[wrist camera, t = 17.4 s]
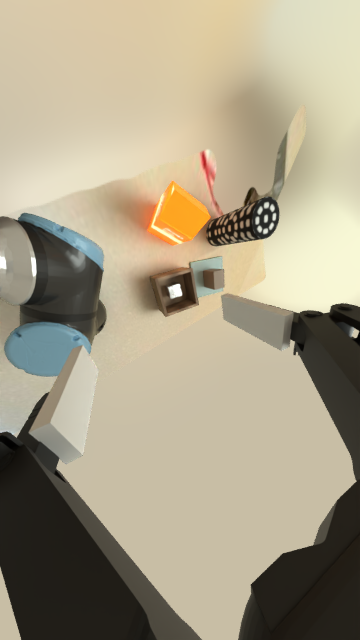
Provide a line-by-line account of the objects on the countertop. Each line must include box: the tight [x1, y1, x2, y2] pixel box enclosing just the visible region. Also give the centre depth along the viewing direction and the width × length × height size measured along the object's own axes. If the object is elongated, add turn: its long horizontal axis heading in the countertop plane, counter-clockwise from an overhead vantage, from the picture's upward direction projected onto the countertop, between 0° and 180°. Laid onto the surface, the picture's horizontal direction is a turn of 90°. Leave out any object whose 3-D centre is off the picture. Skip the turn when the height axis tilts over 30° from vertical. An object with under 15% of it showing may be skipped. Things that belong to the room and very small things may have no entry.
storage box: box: [150, 267, 199, 317], centre depth 50 cm, size 12×12×8 cm
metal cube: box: [165, 282, 182, 299], centre depth 51 cm, size 4×4×4 cm
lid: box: [190, 257, 224, 298], centre depth 53 cm, size 13×13×8 cm
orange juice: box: [148, 181, 211, 245], centre depth 37 cm, size 8×9×20 cm
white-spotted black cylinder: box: [206, 197, 279, 246], centre depth 43 cm, size 8×8×20 cm
